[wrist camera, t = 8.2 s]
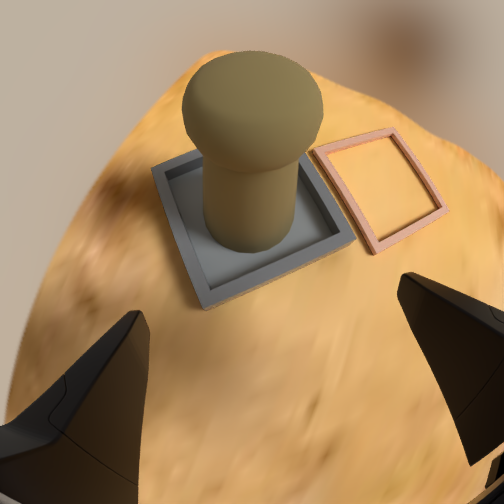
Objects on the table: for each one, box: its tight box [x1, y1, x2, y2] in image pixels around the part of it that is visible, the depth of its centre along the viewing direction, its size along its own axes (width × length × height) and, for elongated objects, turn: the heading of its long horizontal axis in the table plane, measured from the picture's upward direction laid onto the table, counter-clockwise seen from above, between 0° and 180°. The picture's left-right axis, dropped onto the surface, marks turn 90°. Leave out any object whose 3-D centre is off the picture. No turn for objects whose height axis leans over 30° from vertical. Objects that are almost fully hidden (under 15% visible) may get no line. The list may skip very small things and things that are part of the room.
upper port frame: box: [312, 127, 449, 255], centre depth 19 cm, size 9×9×1 cm
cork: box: [182, 51, 323, 254], centre depth 13 cm, size 6×6×11 cm
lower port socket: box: [151, 149, 357, 311], centre depth 18 cm, size 10×10×2 cm
